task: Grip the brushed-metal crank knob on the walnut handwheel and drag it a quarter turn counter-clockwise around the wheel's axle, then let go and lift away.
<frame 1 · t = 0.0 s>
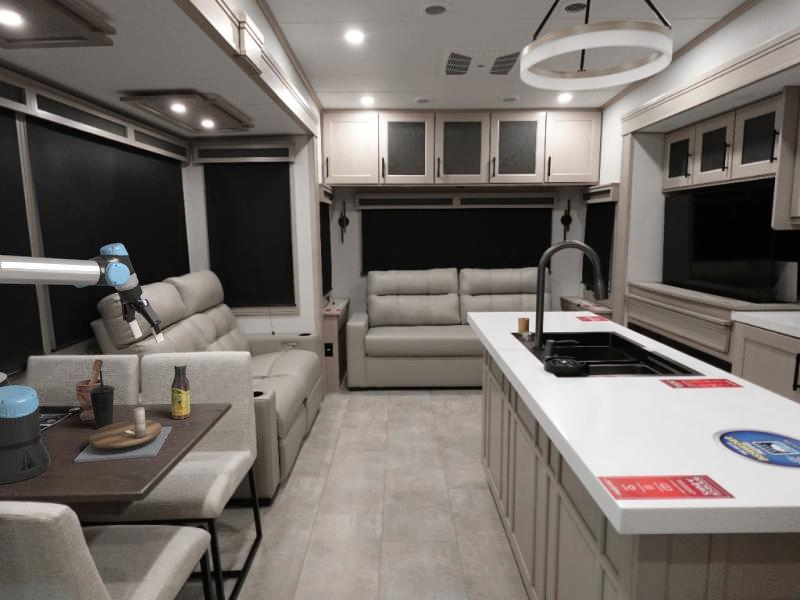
hand: (149, 339, 185), 28 cm above the table, tool tilted 20°, fingers open, 13 cm apart
mortar and pestle: (93, 416, 184), on the table
handwheel: (125, 422, 158), point 7 cm above the table, hinge at 0.0°
drinking cup: (104, 427, 173), on the table
sauce bottle: (181, 417, 183), on the table
wheel stand: (127, 444, 159), on the table
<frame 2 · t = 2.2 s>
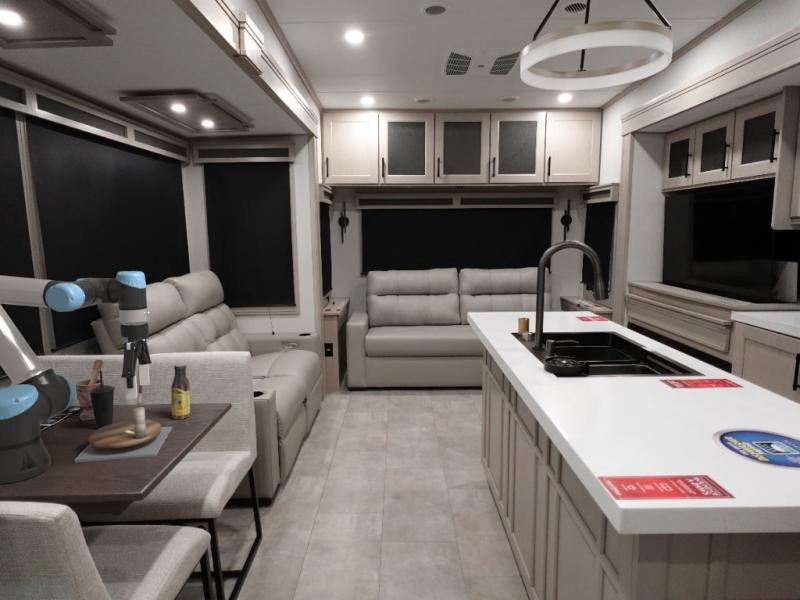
hand: (138, 391, 152), 19 cm above the table, tool pointing down, fingers open, 13 cm apart
nothing on the table moved.
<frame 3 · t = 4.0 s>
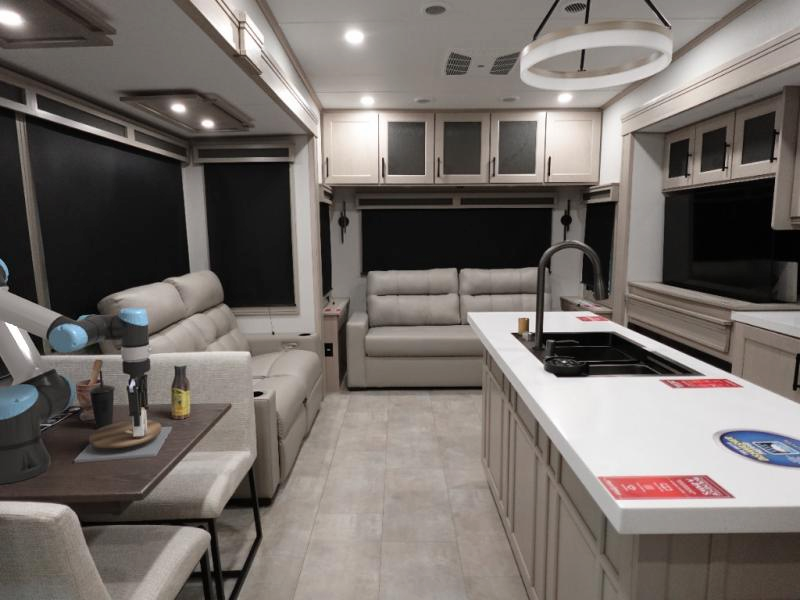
hand: (140, 433, 154), 6 cm above the table, tool pointing down, fingers closed on handwheel, 3 cm apart
handwheel: (125, 422, 158), point 7 cm above the table, hinge at 0.0°, touching gripper
everything else where it was.
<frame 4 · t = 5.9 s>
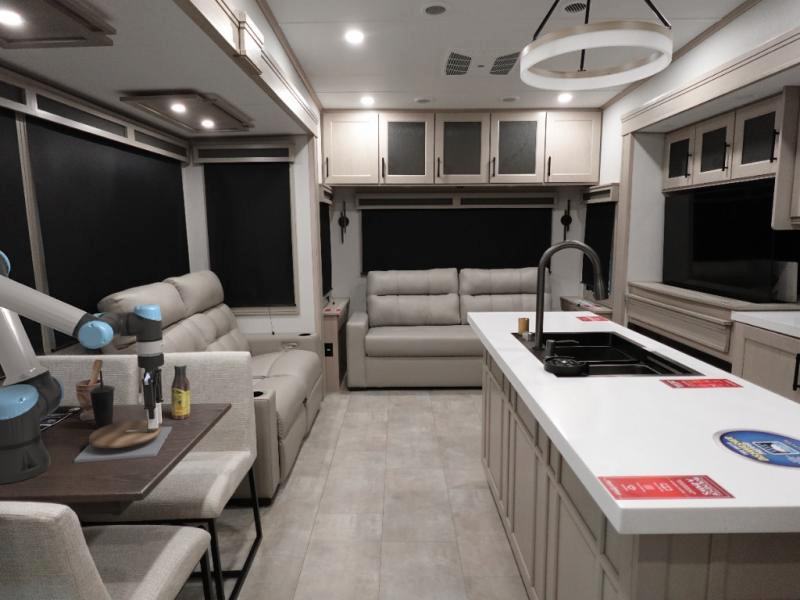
hand: (155, 425, 160), 6 cm above the table, tool pointing down, fingers open, 4 cm apart
handwheel: (125, 422, 158), point 7 cm above the table, hinge at 38.0°, touching gripper
everything else where it was.
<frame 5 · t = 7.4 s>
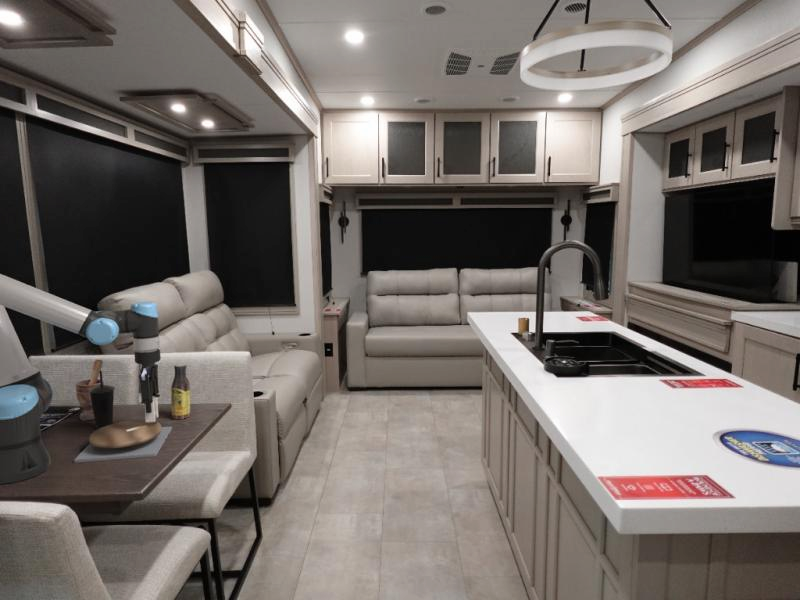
hand: (152, 419, 165), 6 cm above the table, tool pointing down, fingers open, 3 cm apart
handwheel: (125, 422, 158), point 7 cm above the table, hinge at 84.0°
everything else where it was.
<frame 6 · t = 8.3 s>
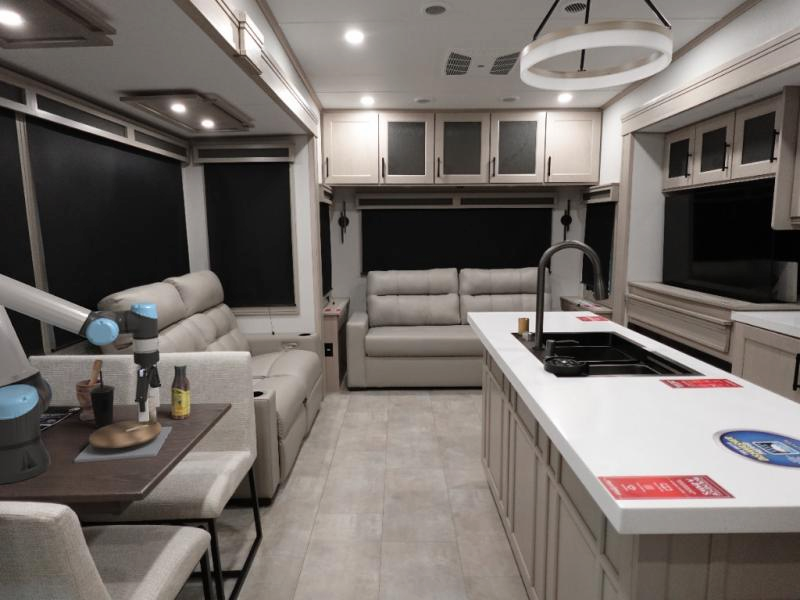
hand: (149, 413, 165), 8 cm above the table, tool pointing down, fingers open, 13 cm apart
nothing on the table moved.
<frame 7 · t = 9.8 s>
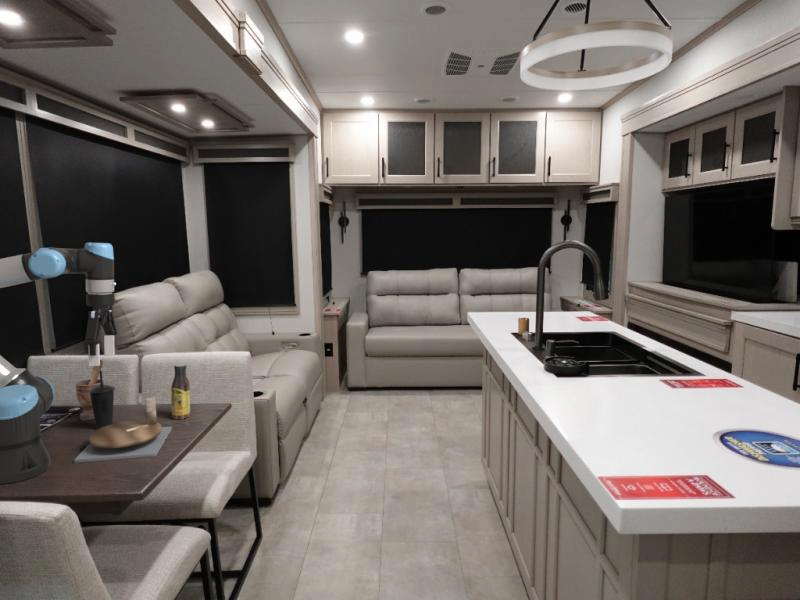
hand: (102, 360, 157), 27 cm above the table, tool pointing down, fingers open, 13 cm apart
nothing on the table moved.
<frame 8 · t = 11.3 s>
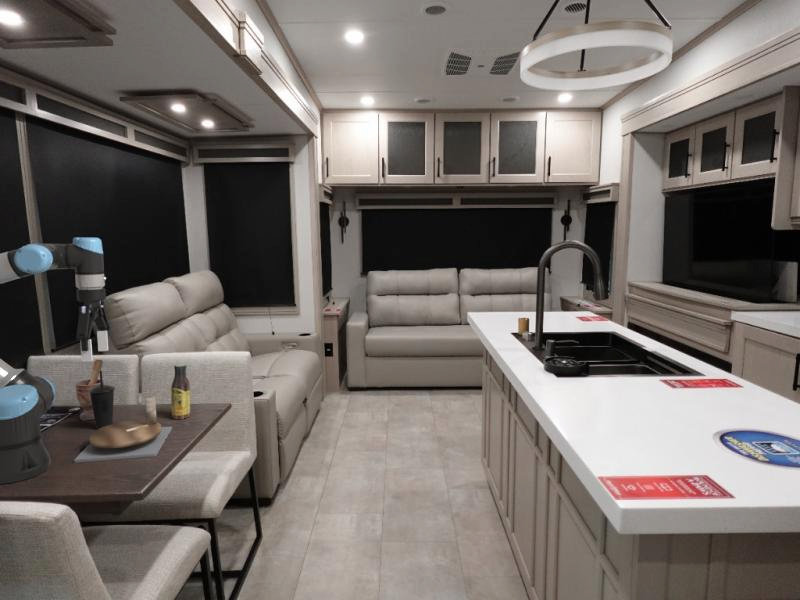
hand: (95, 355, 156), 29 cm above the table, tool pointing down, fingers open, 13 cm apart
nothing on the table moved.
at the end: handwheel at +84° (first picture: +0°) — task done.
